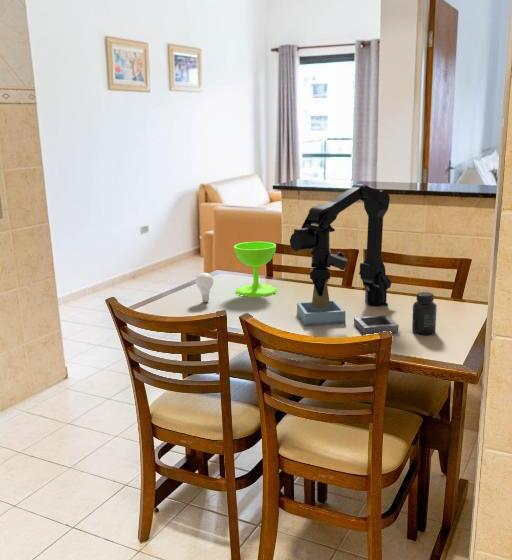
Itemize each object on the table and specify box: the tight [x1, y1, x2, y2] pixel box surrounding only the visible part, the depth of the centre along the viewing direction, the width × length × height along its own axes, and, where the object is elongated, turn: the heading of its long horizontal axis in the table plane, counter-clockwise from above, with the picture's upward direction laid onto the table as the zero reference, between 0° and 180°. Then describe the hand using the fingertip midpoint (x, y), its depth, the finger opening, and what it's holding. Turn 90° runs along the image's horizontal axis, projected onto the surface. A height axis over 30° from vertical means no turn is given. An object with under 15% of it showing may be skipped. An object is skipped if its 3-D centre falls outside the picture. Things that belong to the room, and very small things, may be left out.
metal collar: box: [353, 314, 399, 336], centre depth 189 cm, size 11×11×2 cm
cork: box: [311, 279, 330, 309], centre depth 199 cm, size 6×6×11 cm
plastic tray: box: [296, 299, 346, 327], centre depth 200 cm, size 13×13×4 cm
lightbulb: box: [195, 272, 214, 303], centre depth 222 cm, size 6×6×11 cm
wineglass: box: [233, 241, 278, 298], centre depth 233 cm, size 16×16×18 cm
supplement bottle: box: [411, 291, 438, 337], centre depth 184 cm, size 7×7×12 cm
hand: (320, 293), depth 199 cm, fingers closed on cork, 4 cm apart
